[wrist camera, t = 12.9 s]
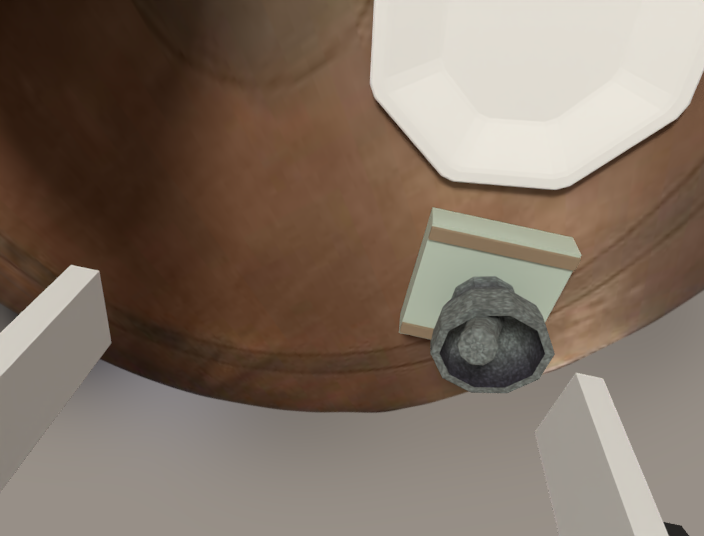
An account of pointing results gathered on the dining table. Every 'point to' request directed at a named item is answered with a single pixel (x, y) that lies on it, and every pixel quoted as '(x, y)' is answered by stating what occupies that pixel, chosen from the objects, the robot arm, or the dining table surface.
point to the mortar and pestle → (490, 338)
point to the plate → (533, 81)
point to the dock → (483, 265)
